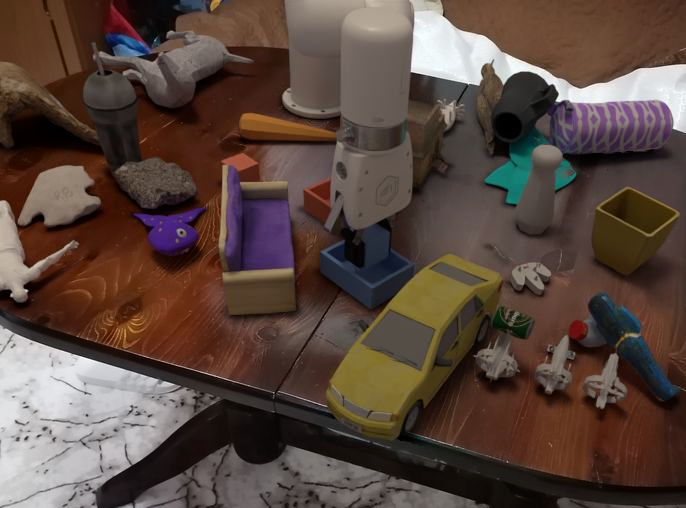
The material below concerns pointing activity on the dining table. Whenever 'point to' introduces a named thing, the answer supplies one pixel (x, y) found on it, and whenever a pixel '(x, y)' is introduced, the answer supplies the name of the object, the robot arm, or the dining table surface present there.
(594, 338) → the red capped bottle
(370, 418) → the toy car
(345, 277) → the blue bin
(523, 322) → the beer can
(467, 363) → the dining table surface
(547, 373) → the toy vehicles
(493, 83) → the bird model
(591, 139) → the pencil case
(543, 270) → the game controller
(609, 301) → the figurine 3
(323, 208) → the red bin
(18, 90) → the rock
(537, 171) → the salt shaker
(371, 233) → the blue block
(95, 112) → the beverage cup
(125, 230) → the dining table surface
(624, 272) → the flower pot
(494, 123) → the mug
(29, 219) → the decorative object
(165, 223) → the toy
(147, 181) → the stone
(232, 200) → the toy sofa
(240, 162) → the red block
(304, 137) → the carrot
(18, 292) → the figurine
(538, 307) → the dining table surface
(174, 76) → the statue
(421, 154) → the wooden crate
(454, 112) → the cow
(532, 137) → the cloth
